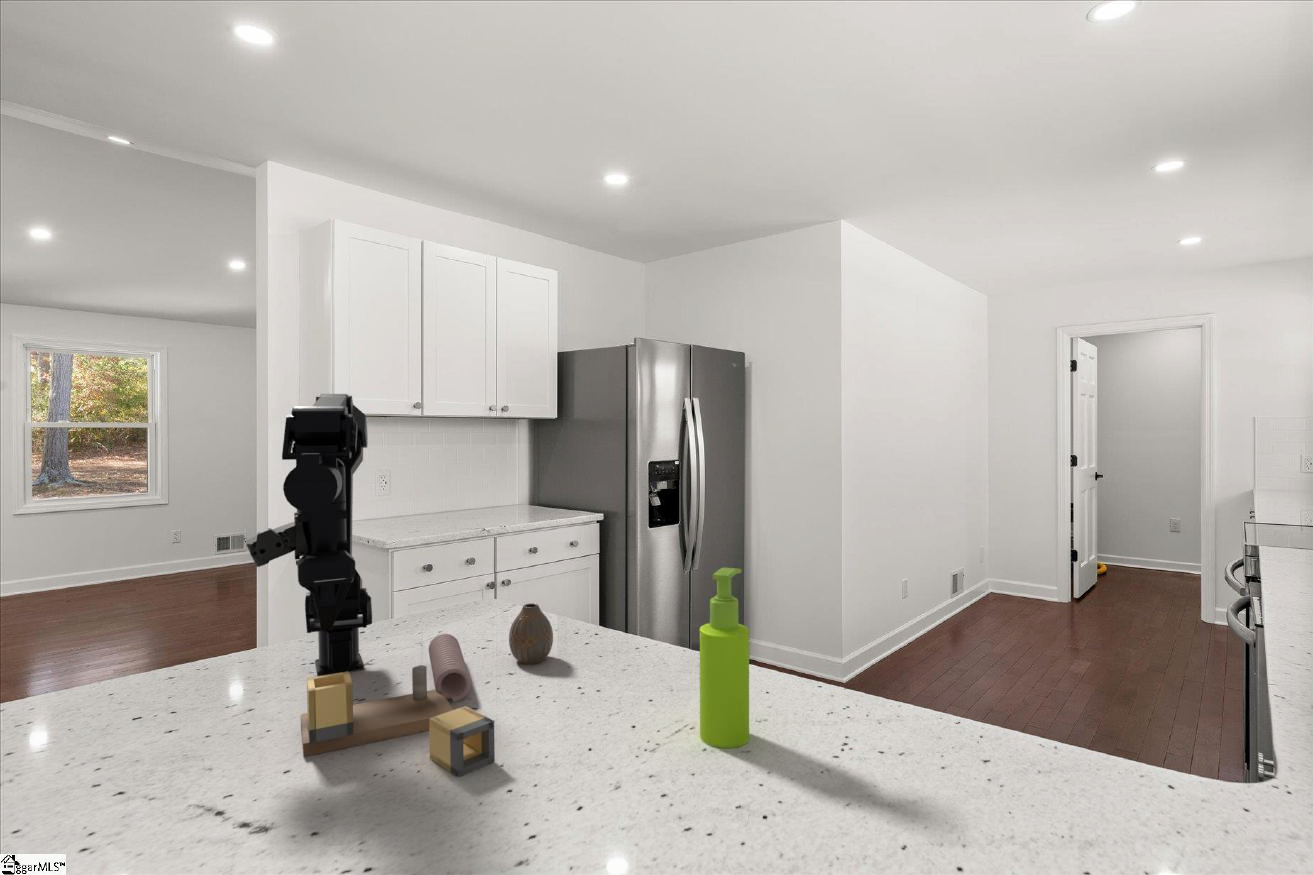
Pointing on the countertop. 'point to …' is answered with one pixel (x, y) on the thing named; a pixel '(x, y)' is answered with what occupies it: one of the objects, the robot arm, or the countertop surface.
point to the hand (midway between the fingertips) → (323, 621)
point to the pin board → (385, 717)
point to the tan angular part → (461, 740)
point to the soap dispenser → (724, 670)
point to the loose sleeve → (329, 706)
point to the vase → (531, 635)
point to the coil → (449, 667)
